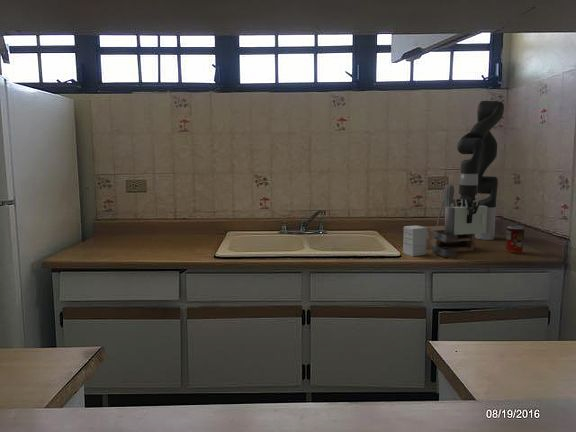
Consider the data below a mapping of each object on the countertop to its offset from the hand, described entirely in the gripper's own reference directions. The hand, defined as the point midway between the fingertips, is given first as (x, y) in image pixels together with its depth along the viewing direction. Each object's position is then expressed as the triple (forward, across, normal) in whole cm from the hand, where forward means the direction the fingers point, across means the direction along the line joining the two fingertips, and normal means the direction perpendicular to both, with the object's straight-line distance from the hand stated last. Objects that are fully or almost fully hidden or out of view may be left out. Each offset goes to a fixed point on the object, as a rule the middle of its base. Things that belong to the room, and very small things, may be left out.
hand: (466, 222), depth 198 cm
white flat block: (+5, 0, 0) cm, 5 cm away
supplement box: (+15, +8, +21) cm, 27 cm away
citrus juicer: (+15, +26, -7) cm, 31 cm away
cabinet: (+15, +7, +1) cm, 17 cm away
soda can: (+15, -2, -25) cm, 29 cm away
